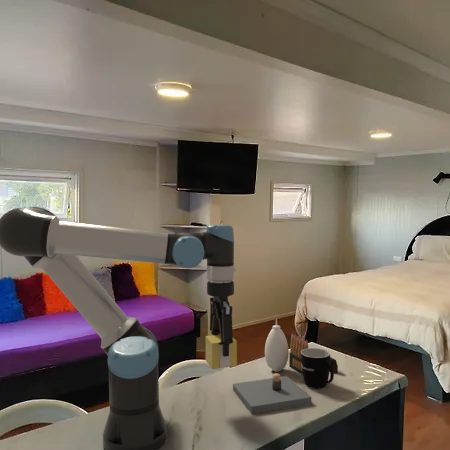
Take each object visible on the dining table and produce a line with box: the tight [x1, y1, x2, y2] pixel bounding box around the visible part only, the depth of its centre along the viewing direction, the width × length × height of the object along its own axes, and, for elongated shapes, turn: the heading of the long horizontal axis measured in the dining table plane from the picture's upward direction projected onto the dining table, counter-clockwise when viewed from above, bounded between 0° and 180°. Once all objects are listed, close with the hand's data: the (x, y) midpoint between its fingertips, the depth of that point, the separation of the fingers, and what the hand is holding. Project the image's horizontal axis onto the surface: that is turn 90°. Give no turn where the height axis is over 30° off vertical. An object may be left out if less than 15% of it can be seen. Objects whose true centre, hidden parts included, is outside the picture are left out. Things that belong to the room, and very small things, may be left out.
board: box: [232, 373, 312, 415], centre depth 126 cm, size 18×16×6 cm
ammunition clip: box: [288, 332, 309, 376], centre depth 146 cm, size 11×2×12 cm, turn 22°
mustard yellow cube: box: [205, 334, 238, 370], centre depth 121 cm, size 7×7×7 cm
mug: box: [301, 347, 335, 390], centre depth 133 cm, size 12×9×10 cm
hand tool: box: [329, 356, 339, 374], centre depth 151 cm, size 19×4×5 cm, turn 25°
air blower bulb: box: [264, 317, 290, 373], centre depth 146 cm, size 8×8×18 cm
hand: (220, 362), depth 121 cm, fingers closed on mustard yellow cube, 7 cm apart
